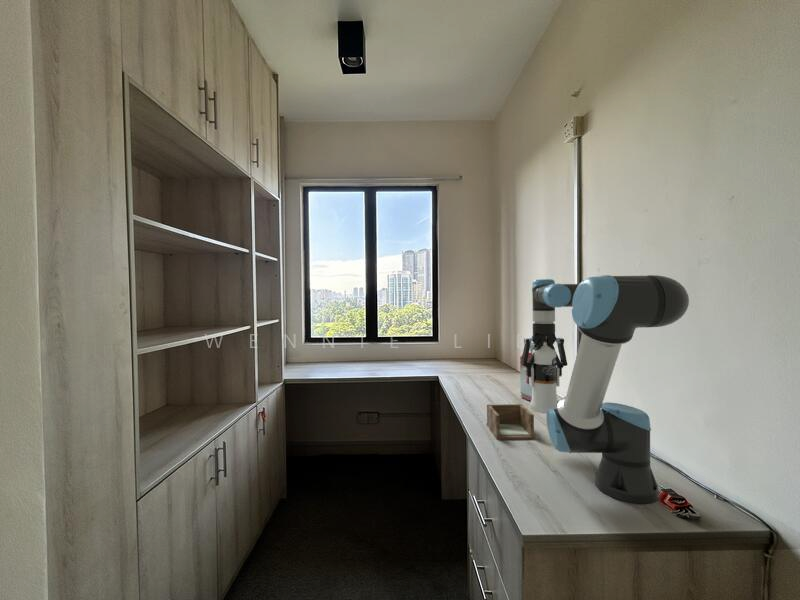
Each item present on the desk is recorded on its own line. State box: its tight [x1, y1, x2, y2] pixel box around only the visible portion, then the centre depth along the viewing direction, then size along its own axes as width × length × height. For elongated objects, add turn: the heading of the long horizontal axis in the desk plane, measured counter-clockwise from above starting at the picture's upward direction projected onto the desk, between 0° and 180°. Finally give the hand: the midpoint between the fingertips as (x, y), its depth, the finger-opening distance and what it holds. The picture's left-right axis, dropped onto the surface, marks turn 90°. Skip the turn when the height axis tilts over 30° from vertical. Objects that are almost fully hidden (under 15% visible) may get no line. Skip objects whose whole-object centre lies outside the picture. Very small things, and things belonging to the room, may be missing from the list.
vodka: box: [530, 334, 559, 415], centre depth 132 cm, size 9×9×30 cm
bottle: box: [519, 342, 535, 402], centre depth 193 cm, size 14×10×30 cm
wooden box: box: [486, 403, 536, 441], centre depth 149 cm, size 16×14×9 cm
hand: (544, 385), depth 132 cm, fingers closed on vodka, 8 cm apart
